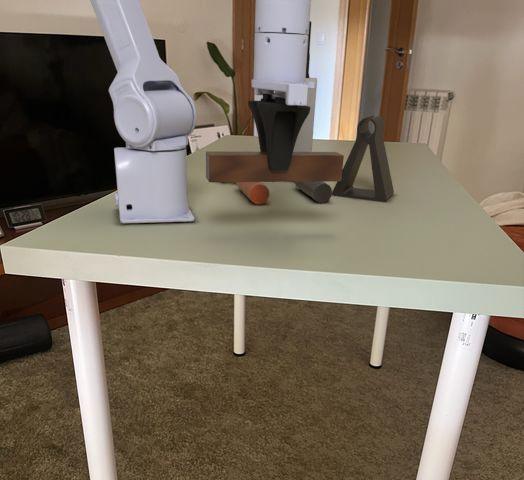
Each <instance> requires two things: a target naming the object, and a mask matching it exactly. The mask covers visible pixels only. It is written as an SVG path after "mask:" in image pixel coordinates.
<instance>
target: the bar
mask: <svg viewBox="0 0 524 480" xmlns="http://www.w3.org/2000/svg"><path fill="white" fill-rule="evenodd" d="M344 157H345V155H344V154H342V153H339V152H338V151H312V152H293V154H292V157H291V161H290V164H289V167H288V170H270V169H269V165H268V160H267V152H260V151H212V150H211V151H209V150H208V151H207V150H206V151H205V178H206V180H207V181H208V183H235V182H261V183H295V182H321V181H323V182H337V181H341V179H342V170H343V168H344Z"/></svg>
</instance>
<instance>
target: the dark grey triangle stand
mask: <svg viewBox="0 0 524 480" xmlns="http://www.w3.org/2000/svg"><path fill="white" fill-rule="evenodd" d="M370 121H371V122H372V124H373V125H374V130H373V132H372V131H370V128H369V123H370ZM385 127H386V122H385V119H384V118H383V117H382V116H381V115H378V116H375V115H371V116H367V117H364V118H362V119H361V120H360V121H359V122H358V123H357V126H356V131H357V132H356V138H355V141H354V143H353V146H352V147H351V150H350V152H349V155H348V157H347V159H346V161H345V163H344V164H343V169H342V179H341V181H336V183H335V185H334V187H333V190H332V196H335V197H336V196H338V197H345V198H353V199H360V200H368V201H369V200H370V201H376V202H384V203H385V202H387V200H388V199H390V198H391V197H392V196H393V195H394V193H395V190H394V186H393V179H392V176H391V175H392V174H391V171H390V165H389V160H388V155H387V149H386V145H385V141H384V131H385ZM368 146H369V155H370V164H371V171H372V180H373V189H367V188H361V187H360V188H359V187H354V183H355V181H356V178H357V175H358V173H359V170H360V167H361V165H362V162H363V160H364V157H365V154H366V152H367V148H368Z"/></svg>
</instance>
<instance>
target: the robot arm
mask: <svg viewBox="0 0 524 480" xmlns="http://www.w3.org/2000/svg"><path fill="white" fill-rule="evenodd" d="M89 1H90V4H91V6H92V9H93V12H94V14H95V17H96V19H97V22H98V25H99V27H100V30H101V32H102V35H103V37H104V40H105V43H106V45H107V48H108V51H109V53H110V56H111V58H112V61H113V64H114V66H115V70H116V71H117V73H116V74H115V77H114V78H113V80H112V82H111V84H110V86H109V88H108V93H109V96H110V98H111V101H112V105H113V119H114V124H115V128H116V130H117V132H118V134H119V136H120V137H121V138H122V140H123V141H124V142H125V147H119V146H118V147H114V148H113V152H114V164H115V165H114V167H115V176H116V188H117V192H114V196H115V197H114V198H115V207H117V208H118V213H119V221H120V223H121V224H145V223H147V224H148V223H149V224H151V223H180V222H181V223H182V222H183V223H184V222H185V223H186V222H195V217H194V214H193V212H192V211H191V209H190V207H189V205H188V204H189V200H188V198H189V197H188V163H187V162H188V161H187V146H189V137H190V136H191V135H192V134H193V132H194V130H195V128H196V125H197V118H198V115H197V108H196V105H195V102H194V101H193V99H192V98H191V96H190V95H189V94H188V92H186V91H185V89H184V87H183V86H182V83H181V81H180V79H179V76H178V75H177V73H176V72H175V71H174V70H173V69H172V68H171V67H169V65H168V64H166V63H165V62H164V61H163V59H161V57H160V55H159V51H158V49H157V46H156V44H155V40H154V38H153V37H154V36H153V34H152V32H151V29H150V27H149V24H148V21H147V18H146V15H145V13H144V10H143V7H142V4H141V2H140V0H89ZM311 7H312V0H255V14H254V15H255V16H254V46H253V47H254V48H253V49H254V50H253V77H252V79H251V84H250V85H251V88H253V89H254V94H255V96H262V97H261V98H260V100H248V101H247V104H248V108H249V110H250V112H251V116H252V117H253V121H254V124H255V128H256V132H257V133H256V134H257V139H258V145H259V152H267V160H268V165H269V169H270V170H288V167H289V164H290V161H291V157H292V154H293V150H294V146H295V143H296V140H297V137H298V134H299V131H300V129H301V127H302V125H303V123H304V121H305V119H306V118H307V116H308V115H309V113H310V107H309V106H306V105H307V95H308V89H315V84H316V83H315V82H311V81H305V78H306V64H307V49H308V35H309V22H310V21H311ZM299 105H303V106H299Z"/></svg>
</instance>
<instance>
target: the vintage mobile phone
mask: <svg viewBox="0 0 524 480" xmlns="http://www.w3.org/2000/svg"><path fill="white" fill-rule="evenodd" d="M311 35H312V21H311V20H310V22H309V35H308V49H307V64H306V78H305V81H311V82H315V83H316V84H315V89H308V95H307V105H306V106H309V107H310V113H309V115H308V116H307V118H306V119H305V121H304V123H303V125H302V127H301V129H300V131H299V134H298V137H297V140H296V143H295V146H294V150H293V152H313V140H314V127H315V125H314V124H315V111H316V101H317V87H318V86H317V85H318V79H317V77H310V61H311V52H310V51H311V38H312V37H311ZM299 106H303V105H299Z"/></svg>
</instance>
